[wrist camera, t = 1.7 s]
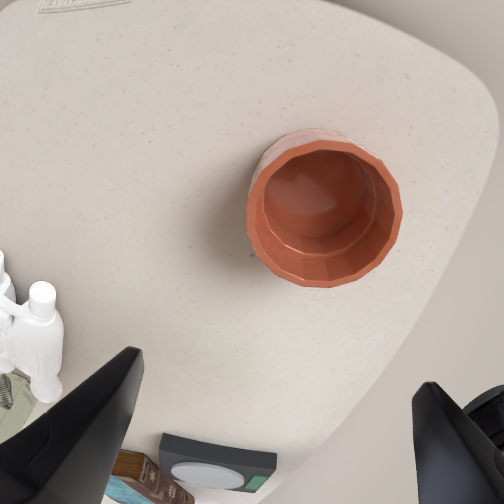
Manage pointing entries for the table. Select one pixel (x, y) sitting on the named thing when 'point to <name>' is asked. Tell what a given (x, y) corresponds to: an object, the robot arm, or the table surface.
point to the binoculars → (31, 336)
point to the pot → (322, 209)
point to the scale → (214, 464)
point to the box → (14, 404)
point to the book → (142, 482)
